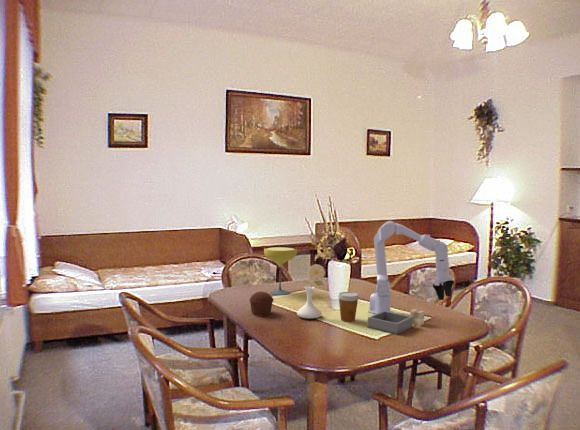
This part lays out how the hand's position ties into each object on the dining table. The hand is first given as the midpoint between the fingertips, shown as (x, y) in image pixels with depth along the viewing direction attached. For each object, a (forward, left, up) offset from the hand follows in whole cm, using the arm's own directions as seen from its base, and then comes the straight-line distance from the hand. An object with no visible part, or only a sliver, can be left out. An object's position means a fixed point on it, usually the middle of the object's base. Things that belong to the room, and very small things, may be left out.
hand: (444, 297), depth 222 cm
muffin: (-68, -51, -10) cm, 85 cm away
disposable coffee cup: (-32, -32, -10) cm, 46 cm away
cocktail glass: (-88, -15, -10) cm, 90 cm away
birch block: (-6, -16, -10) cm, 20 cm away
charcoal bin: (-12, -28, -10) cm, 33 cm away
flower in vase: (-47, -40, -10) cm, 62 cm away
